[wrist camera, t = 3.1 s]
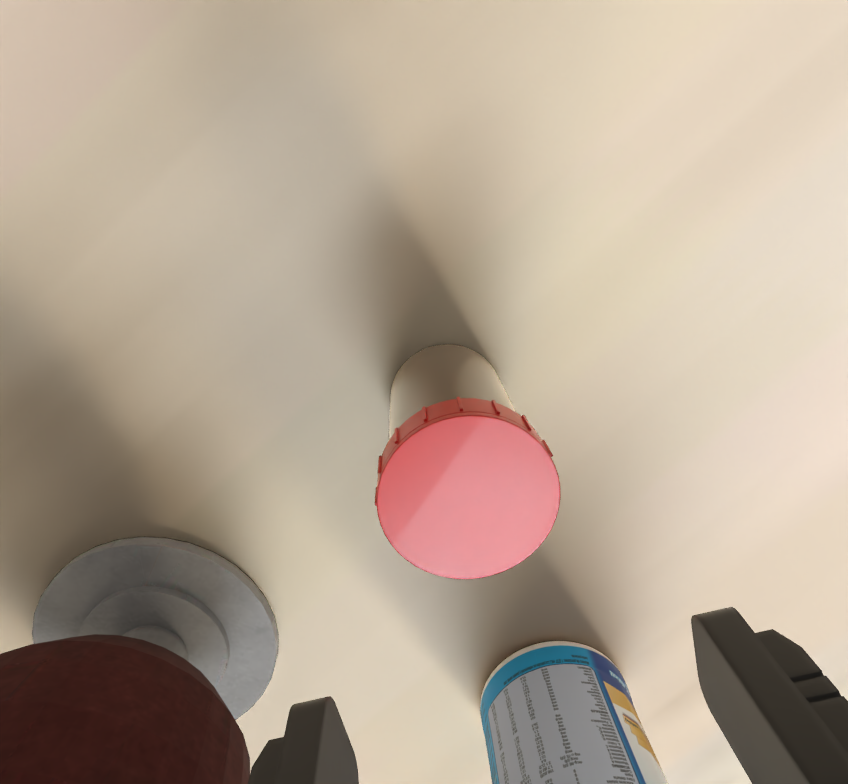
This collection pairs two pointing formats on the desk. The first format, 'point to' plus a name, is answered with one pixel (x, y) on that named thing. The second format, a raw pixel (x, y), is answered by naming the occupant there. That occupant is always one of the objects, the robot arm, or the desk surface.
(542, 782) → the blue labeled canister
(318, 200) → the desk surface
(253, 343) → the desk surface
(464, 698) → the desk surface
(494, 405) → the lid
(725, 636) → the robot arm
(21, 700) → the mate gourd
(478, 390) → the jar
